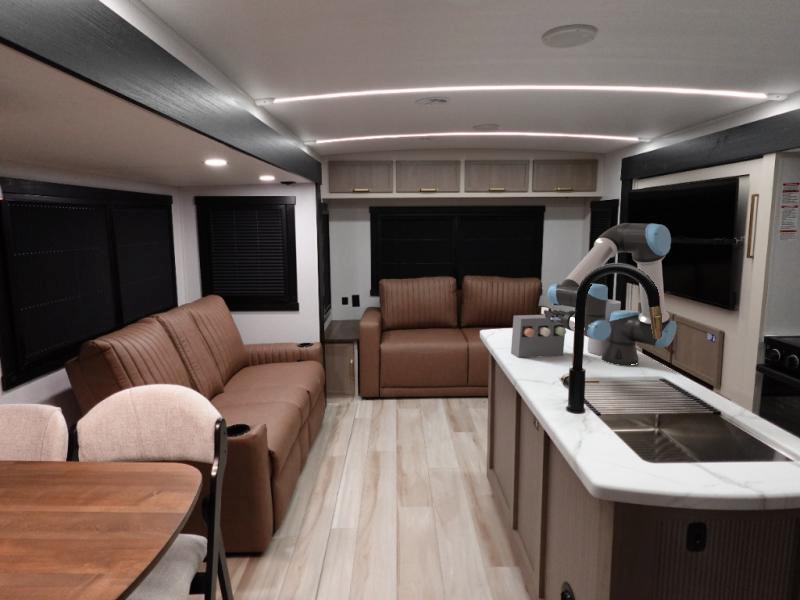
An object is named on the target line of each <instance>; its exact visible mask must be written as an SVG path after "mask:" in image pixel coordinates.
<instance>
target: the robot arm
mask: <svg viewBox="0 0 800 600" xmlns="http://www.w3.org/2000/svg"><path fill="white" fill-rule="evenodd" d="M671 244H672V237H671V233H670V230H669V229H668V227H666V226H665V225H663V224H658V223H652V222H651V223H633V222H632V223H630V222H624V223H620V224H616V225H614V226H612V227H611V228H609V229H607V230H606V231H604V232H603V233H601V235H599V236H598V237H597V239H595V241H594V243H593V247H592V248H591V249H590V250H589V251H588V253H587V254H586V255H585V256H584V257H583V258H582V260H580V262H579V263H578V264H577V265H576V266H575V267H574V268H573V269H572V271H571V272H570V273H569V274H568V275H567V276H566V278H565V279H564V280H563V281H562V282H561V284H560V283H553V284H551V285H550V286H549V287H548V290H547V299H548V301H549V302H550V304H551V303H552V304H555V305H557V306H564V307H570V308H571V307H572V308H576V295H577V291H578V287H579V285H580V283H581V281H582V280H583V279H584V277H585V276H586V275H587V274H589V273H590V272H591V271H593V270H594V269H596V268H598V267H600V266H602V267H604V265H605V264H606V263H608V260H610V258H615V256H616V255H617V254H618V253H619V254H620V253H629V254H630V253H631V257H632V260H633V262H635V263H636V265H637V270H638V269H640V270H641V271H643V272H644V273H645V274H646V275H648V276H649V277H650V279H651V280H652V281H653V282H654V284H655V286H656V287H657V289H658V292H659V296H660V306H661V313H662V337H661V338H660V339H654V338H653V334H652V329H651V320H650V313H649V305H648V299H647V295H646V292H645V290H644V288H643V287H642V285H641V284H640V283H638V285H639V286H638V287H639V293H640V294H639V295H640V296H639V297H640V305H641V312H640V311H639V310H632V309H628V310H627V309H625V310H624V309H623V310H621V309H620V311H614V312H612V313H611V315H610V320H609V323H608V322H607V321H606V320H605V319H606V306H607V299H609V298H608V292H609V291H608V290H609V288H608V286H607V285H605V284H602V283H601V284H600V283H591V284H592V286H591V287H590V289H589V291H588V294H587V299H586V307H585V330H584V335H583V336H585V337H587V338H591V339H595V340H599V341H602V340H605V339H606V338H608V342H607V345H606V347H605V350H604V352H603V353H602V356H601V360H602V361H603V360H604V361H603V362H605V361H606V362H605V363H608V362H609V363H608V364H611V363H613V364H612V365H615V364H619V365H618V366H622V365H631V364H636V363H638V364H639V360H640V358H639V355H638V351H637V343H641V344H645V345H650V346H654V347H660V348H667V347H669V346H670V344H671V343H672V342H673V340H674V339H675V335H676V332H677V329H678V328H677V326H678V325H677V322H676V321H675V320H671V318H670V314H669V312H668V311H666V307H665V306H666V305H665V292H664V278H663V264H662V261H663V259H664V258H665V257H666V255H667V254H668V253H669V252H670V249H671ZM540 311H541V313H540V315H545V317H546V318H547V319H549V320H551V322H554V321H555V320H557V321H558V322H561V323H562V324H563V325H564V327H565V329H567V330H569V331H571V332H574V327H575V311H576V310H569V311H564V310H561V309H560V310H556V309H555V310H554V309H552V308H549V307H546V306H541V310H540Z"/></svg>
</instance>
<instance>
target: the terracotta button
mask: <svg viewBox="0 0 800 600" xmlns="http://www.w3.org/2000/svg"><path fill="white" fill-rule="evenodd" d="M522 333H523V334H524V335H526V336H528V337H533V336H534V334H535V332H534V330H533V329H531V328H528V327H525V328H524V329H523V331H522Z"/></svg>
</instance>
